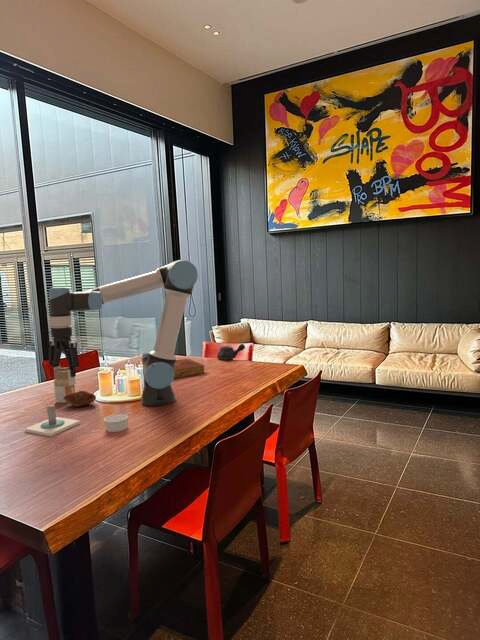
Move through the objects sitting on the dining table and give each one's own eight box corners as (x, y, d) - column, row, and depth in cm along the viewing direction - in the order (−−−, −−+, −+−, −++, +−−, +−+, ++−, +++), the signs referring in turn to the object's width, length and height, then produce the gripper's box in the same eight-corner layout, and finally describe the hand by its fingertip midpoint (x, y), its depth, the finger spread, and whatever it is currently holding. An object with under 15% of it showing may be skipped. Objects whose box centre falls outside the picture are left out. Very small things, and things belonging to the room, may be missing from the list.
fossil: (101, 396, 195) (86, 381, 191) (92, 409, 188) (77, 394, 184) (82, 403, 200) (67, 388, 196) (73, 416, 194) (58, 401, 190)
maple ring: (78, 383, 172) (77, 368, 172) (64, 387, 166) (63, 372, 165) (66, 381, 175) (65, 366, 175) (51, 385, 169) (50, 370, 168)
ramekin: (109, 424, 168) (108, 414, 168) (131, 424, 168) (130, 413, 167) (101, 433, 159) (100, 422, 159) (124, 432, 159) (123, 421, 158)
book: (188, 366, 264) (187, 358, 264) (205, 373, 244) (204, 365, 243) (141, 374, 250) (140, 365, 249) (154, 382, 229) (154, 373, 228)
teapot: (214, 361, 271) (213, 346, 270) (219, 356, 286) (218, 341, 285) (243, 361, 268) (243, 346, 267) (247, 356, 283) (246, 341, 282)
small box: (66, 403, 198) (64, 380, 197) (55, 402, 199) (53, 380, 198) (76, 397, 206) (74, 376, 205) (65, 397, 207) (63, 376, 206)
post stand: (80, 423, 170) (78, 402, 169) (50, 436, 158) (48, 413, 157) (55, 419, 177) (53, 398, 176) (25, 431, 164) (22, 409, 163)
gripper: (87, 326, 167) (90, 384, 169) (51, 324, 176) (55, 378, 179) (71, 329, 160) (75, 388, 163) (35, 326, 169) (39, 383, 172)
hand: (65, 383), depth 171 cm, fingers closed on maple ring, 7 cm apart
